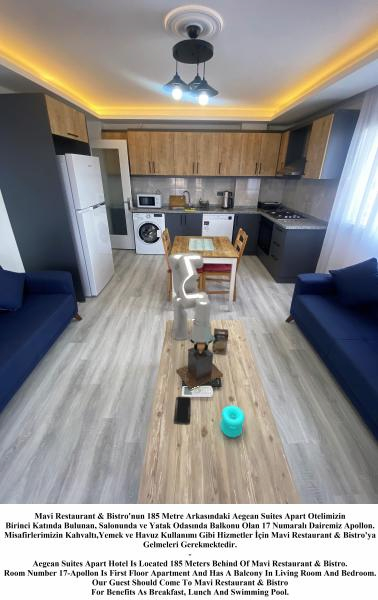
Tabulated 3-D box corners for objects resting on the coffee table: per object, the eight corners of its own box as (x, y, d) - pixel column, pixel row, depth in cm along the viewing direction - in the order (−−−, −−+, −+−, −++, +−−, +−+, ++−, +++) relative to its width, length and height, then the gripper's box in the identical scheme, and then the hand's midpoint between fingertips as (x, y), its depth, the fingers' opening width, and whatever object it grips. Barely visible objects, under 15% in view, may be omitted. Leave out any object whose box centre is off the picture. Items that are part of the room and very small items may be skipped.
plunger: (190, 369, 142) (190, 340, 132) (201, 365, 145) (203, 336, 136) (197, 378, 136) (198, 348, 126) (209, 373, 139) (211, 344, 129)
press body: (176, 371, 142) (176, 349, 135) (207, 359, 152) (209, 338, 145) (189, 390, 130) (190, 367, 123) (222, 376, 140) (225, 353, 132)
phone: (173, 422, 112) (176, 396, 126) (173, 424, 113) (176, 398, 126) (190, 423, 112) (191, 397, 125) (190, 425, 113) (191, 398, 126)
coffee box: (212, 354, 157) (213, 333, 150) (212, 348, 163) (213, 328, 155) (226, 355, 156) (228, 335, 149) (225, 349, 162) (228, 329, 155)
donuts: (221, 421, 103) (222, 402, 112) (219, 436, 108) (220, 417, 116) (245, 425, 102) (244, 406, 110) (242, 440, 106) (241, 420, 115)
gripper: (185, 325, 121) (185, 353, 130) (219, 325, 121) (216, 354, 130) (185, 317, 128) (185, 344, 136) (218, 317, 128) (215, 345, 136)
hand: (200, 349), depth 133 cm, fingers closed on plunger, 5 cm apart
